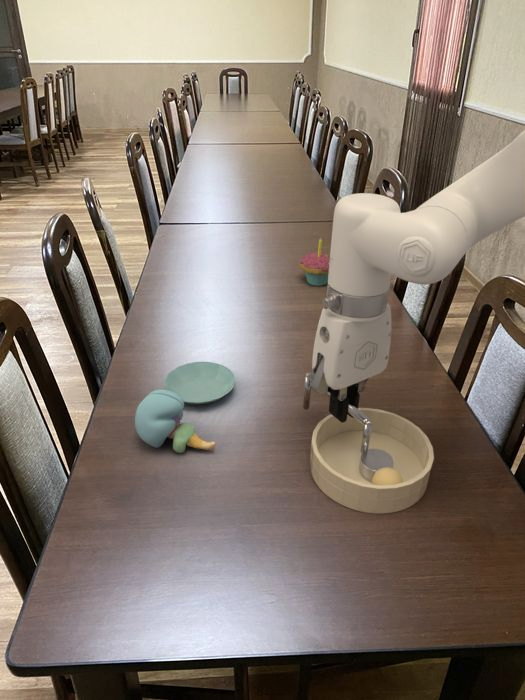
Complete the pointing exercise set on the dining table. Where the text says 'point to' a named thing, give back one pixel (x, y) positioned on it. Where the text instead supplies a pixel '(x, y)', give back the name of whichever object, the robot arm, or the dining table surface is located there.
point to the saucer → (200, 382)
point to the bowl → (344, 458)
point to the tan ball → (386, 477)
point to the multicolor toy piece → (166, 422)
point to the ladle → (370, 457)
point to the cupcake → (316, 266)
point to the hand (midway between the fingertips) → (342, 414)
